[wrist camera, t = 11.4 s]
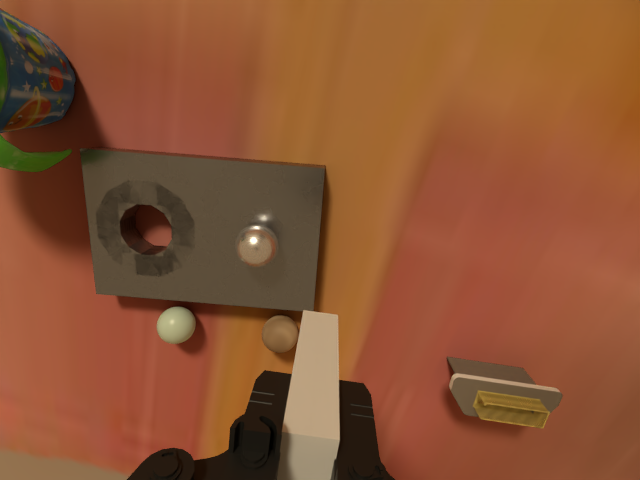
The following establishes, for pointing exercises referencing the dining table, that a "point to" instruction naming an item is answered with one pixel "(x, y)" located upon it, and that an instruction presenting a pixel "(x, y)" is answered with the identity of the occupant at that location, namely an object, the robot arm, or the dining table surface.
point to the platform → (501, 393)
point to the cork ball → (280, 334)
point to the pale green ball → (176, 325)
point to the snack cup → (31, 90)
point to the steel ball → (256, 246)
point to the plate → (203, 227)
